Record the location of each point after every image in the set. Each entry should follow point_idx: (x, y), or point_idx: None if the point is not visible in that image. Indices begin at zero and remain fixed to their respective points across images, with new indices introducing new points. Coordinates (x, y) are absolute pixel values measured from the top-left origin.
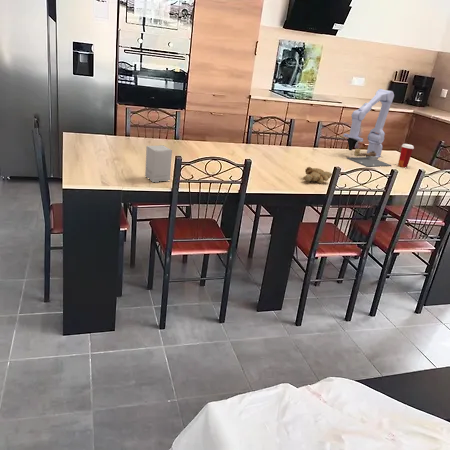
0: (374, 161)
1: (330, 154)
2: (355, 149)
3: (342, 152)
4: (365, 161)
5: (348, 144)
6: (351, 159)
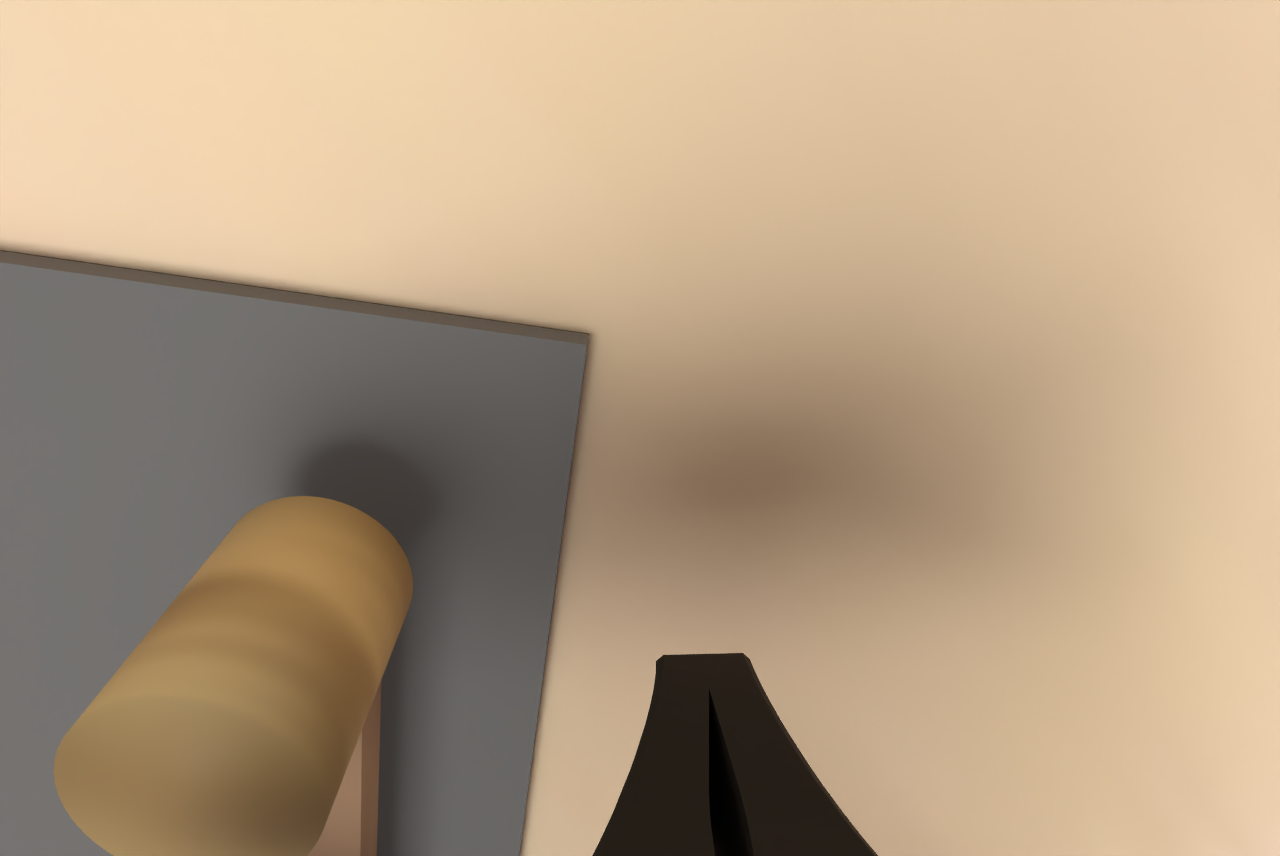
0: (99, 851)
1: (1221, 115)
2: (253, 676)
3: (1126, 760)
4: (81, 610)
5: (843, 821)
6: (335, 310)
